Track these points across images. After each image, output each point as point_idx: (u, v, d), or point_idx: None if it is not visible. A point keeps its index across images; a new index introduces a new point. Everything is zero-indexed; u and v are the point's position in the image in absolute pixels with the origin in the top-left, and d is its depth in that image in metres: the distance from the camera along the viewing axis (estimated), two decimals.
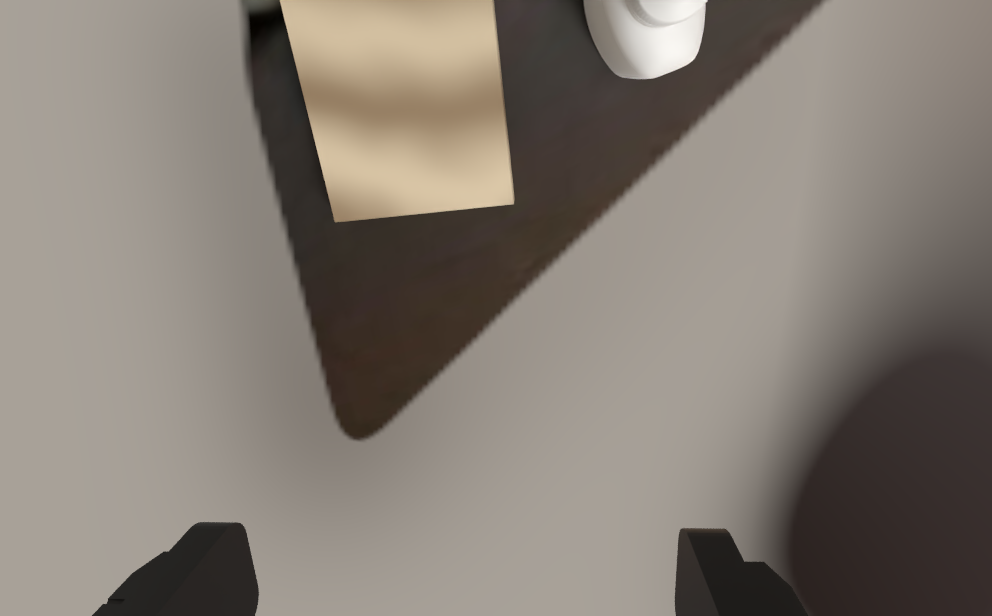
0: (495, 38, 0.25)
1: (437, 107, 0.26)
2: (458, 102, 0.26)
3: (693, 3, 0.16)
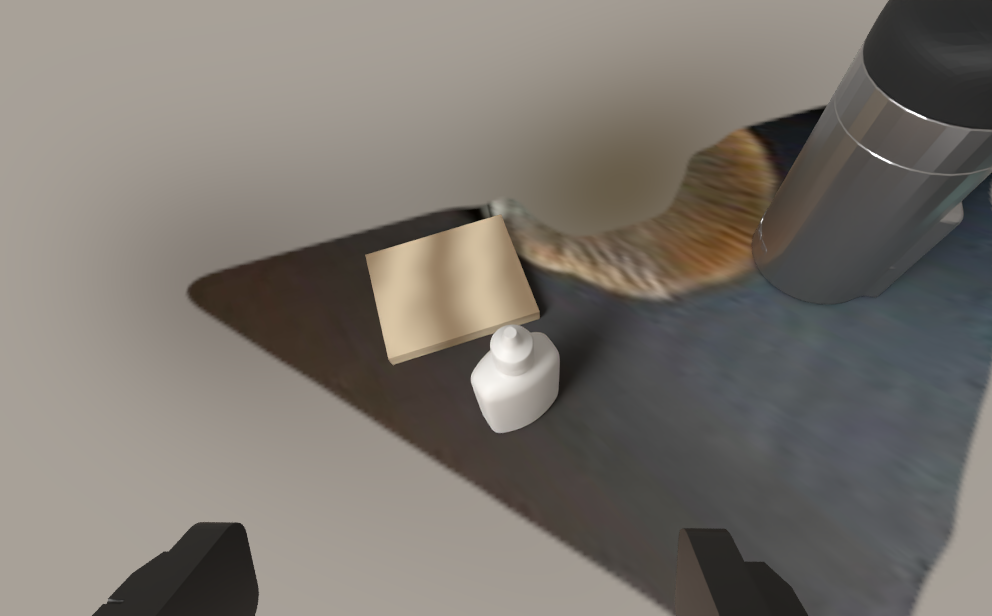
0: (489, 327, 0.40)
1: (444, 302, 0.42)
2: (449, 313, 0.41)
3: (501, 354, 0.29)
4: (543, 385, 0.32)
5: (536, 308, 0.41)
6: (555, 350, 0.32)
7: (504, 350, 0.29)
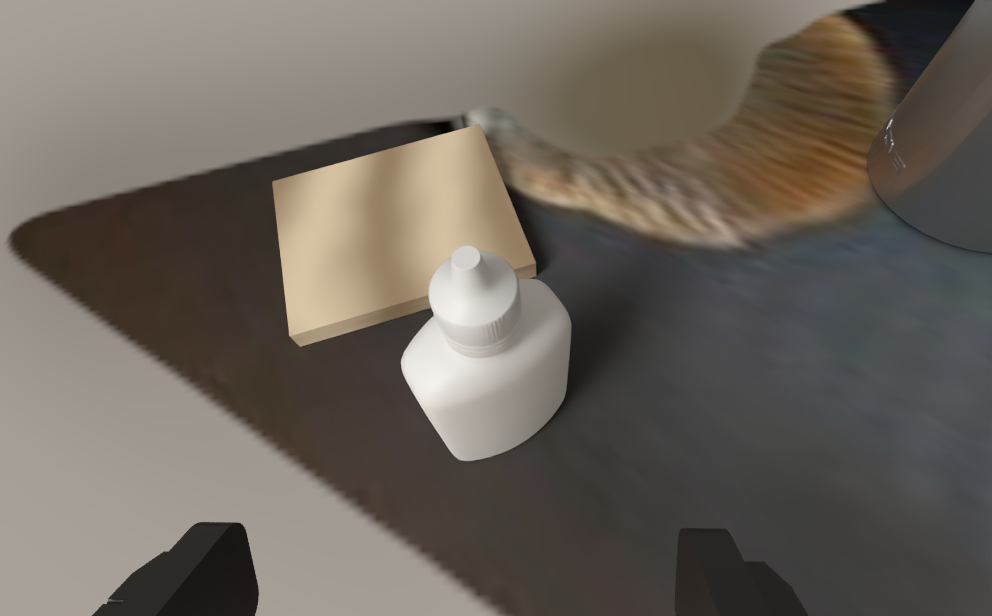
0: None
1: (386, 248, 0.26)
2: (392, 265, 0.26)
3: (449, 308, 0.13)
4: (540, 378, 0.17)
5: (531, 258, 0.25)
6: (563, 311, 0.17)
7: (456, 300, 0.13)
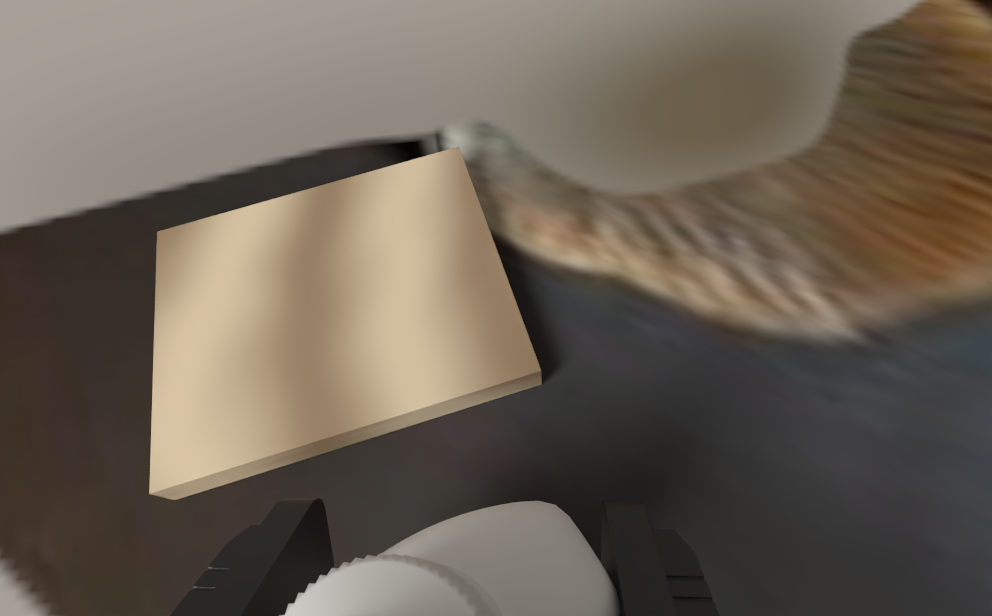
0: (414, 410, 0.16)
1: (312, 342, 0.17)
2: (320, 371, 0.17)
3: None
4: None
5: (533, 362, 0.16)
6: (609, 600, 0.08)
7: None
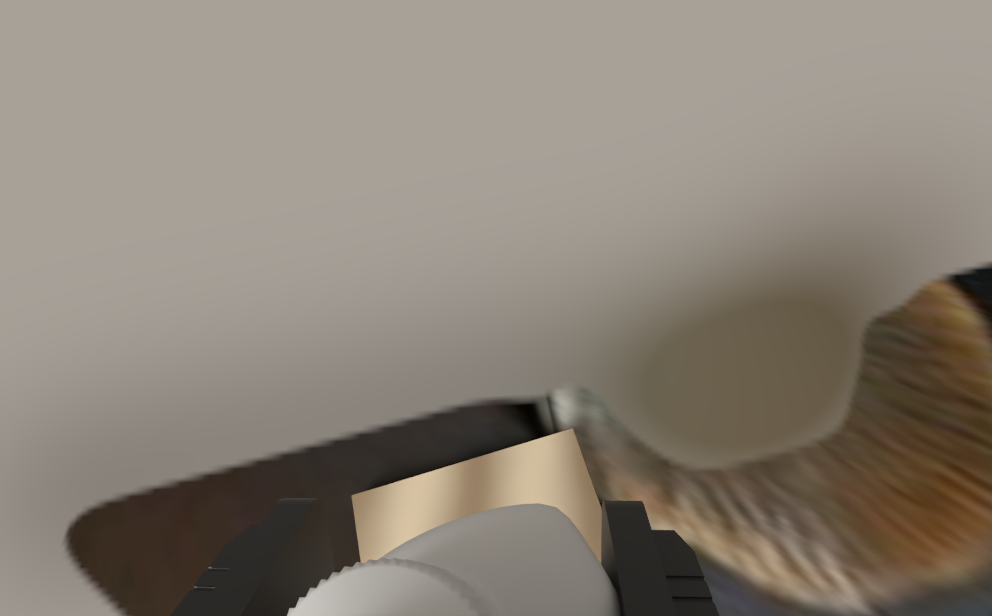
0: None
1: None
2: None
3: None
4: None
5: None
6: (610, 603, 0.08)
7: None
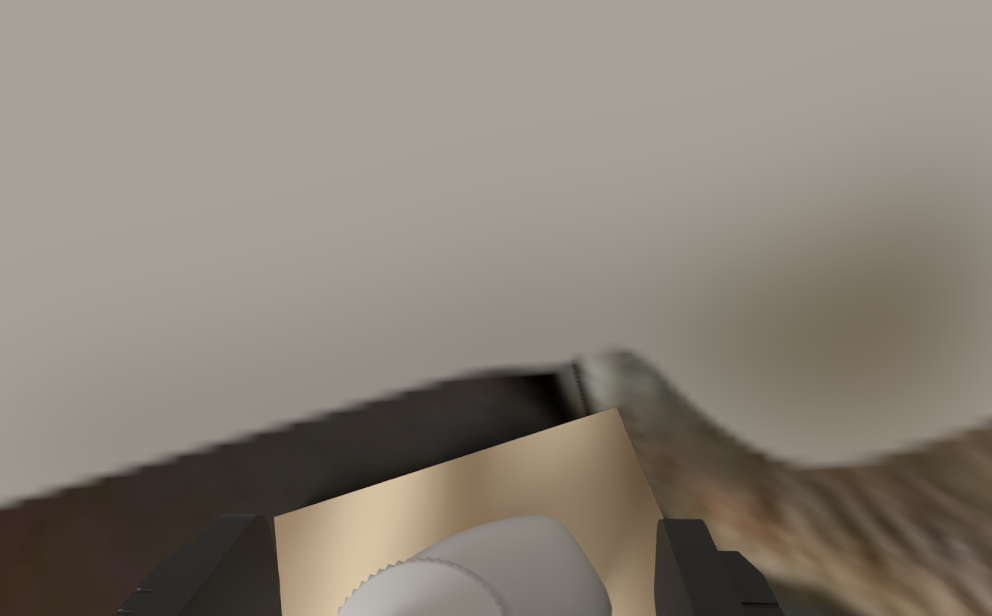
0: None
1: None
2: None
3: None
4: None
5: None
6: (601, 599, 0.09)
7: None
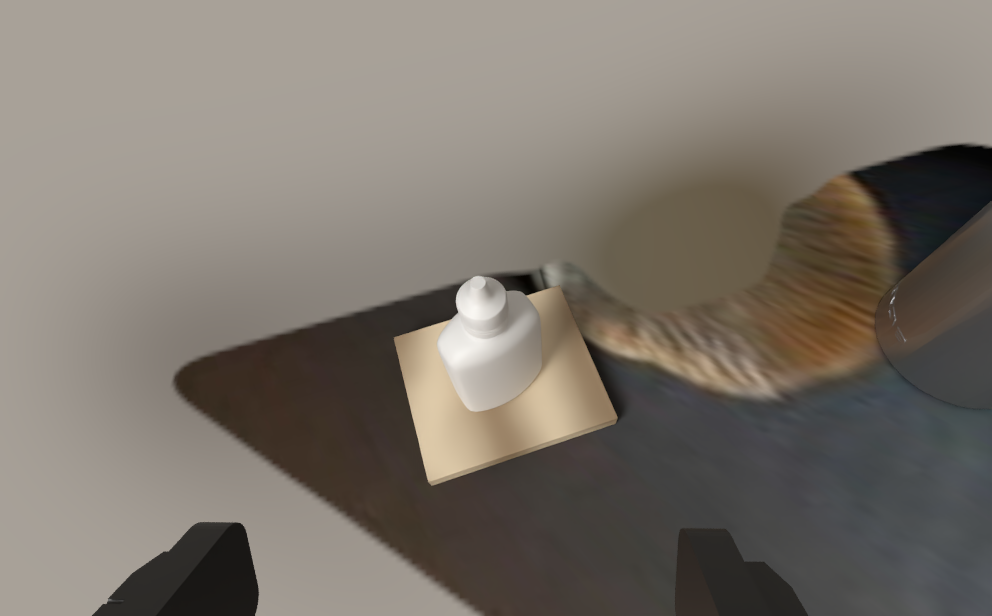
0: (555, 438, 0.32)
1: None
2: (503, 418, 0.33)
3: (468, 310, 0.24)
4: (521, 352, 0.28)
5: (613, 413, 0.32)
6: (535, 310, 0.27)
7: (472, 306, 0.24)
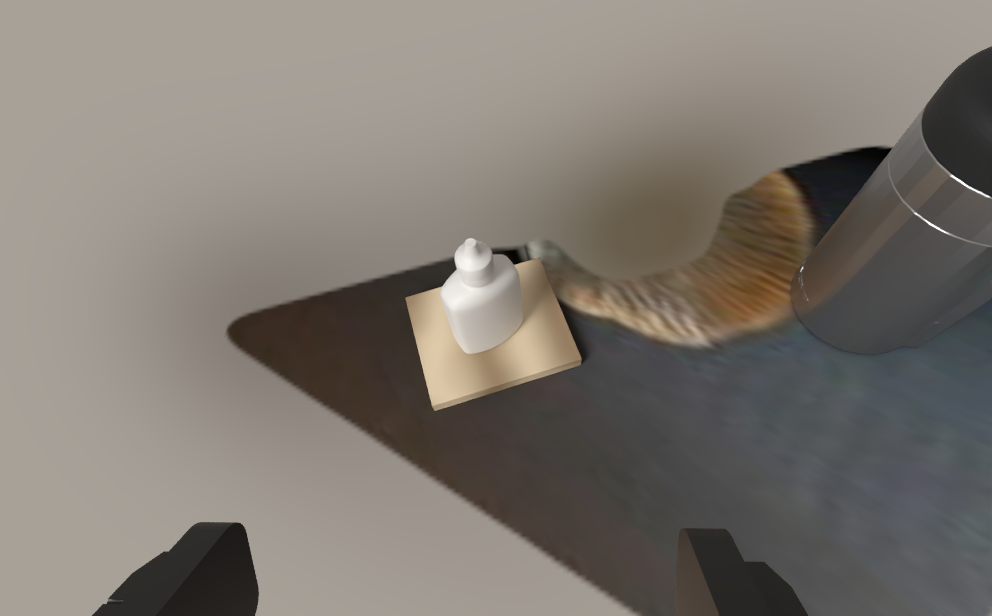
0: (531, 374, 0.41)
1: None
2: (491, 359, 0.41)
3: (463, 264, 0.33)
4: (504, 301, 0.37)
5: (578, 355, 0.41)
6: (514, 269, 0.36)
7: (466, 260, 0.33)
